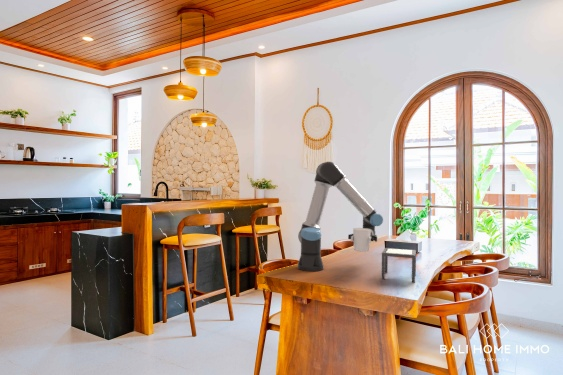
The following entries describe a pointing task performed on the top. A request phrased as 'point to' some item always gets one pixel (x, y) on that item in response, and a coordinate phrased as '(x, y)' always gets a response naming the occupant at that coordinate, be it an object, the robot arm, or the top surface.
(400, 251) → the trapdoor
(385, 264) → the stand
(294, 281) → the top surface
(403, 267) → the top surface
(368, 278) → the top surface
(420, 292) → the top surface
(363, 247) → the candle holder
